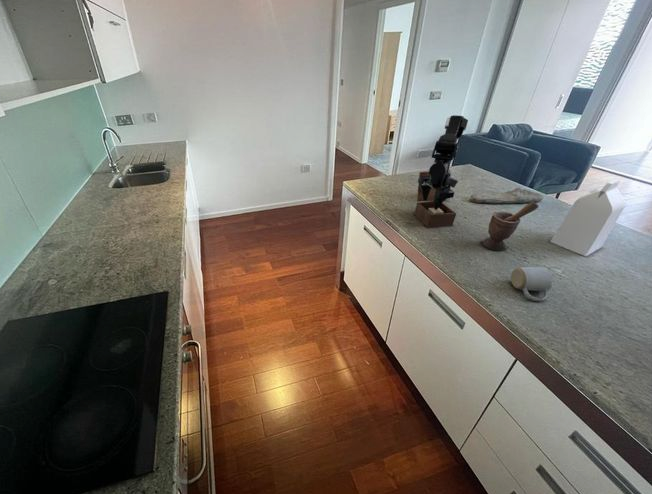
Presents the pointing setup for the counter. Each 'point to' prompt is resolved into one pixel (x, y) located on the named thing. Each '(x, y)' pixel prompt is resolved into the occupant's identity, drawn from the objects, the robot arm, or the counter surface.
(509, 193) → the elongated rock
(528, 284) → the ceramic mug
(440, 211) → the block
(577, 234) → the milk
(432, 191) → the lid
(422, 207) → the chest
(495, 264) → the counter surface
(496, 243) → the mortar and pestle
